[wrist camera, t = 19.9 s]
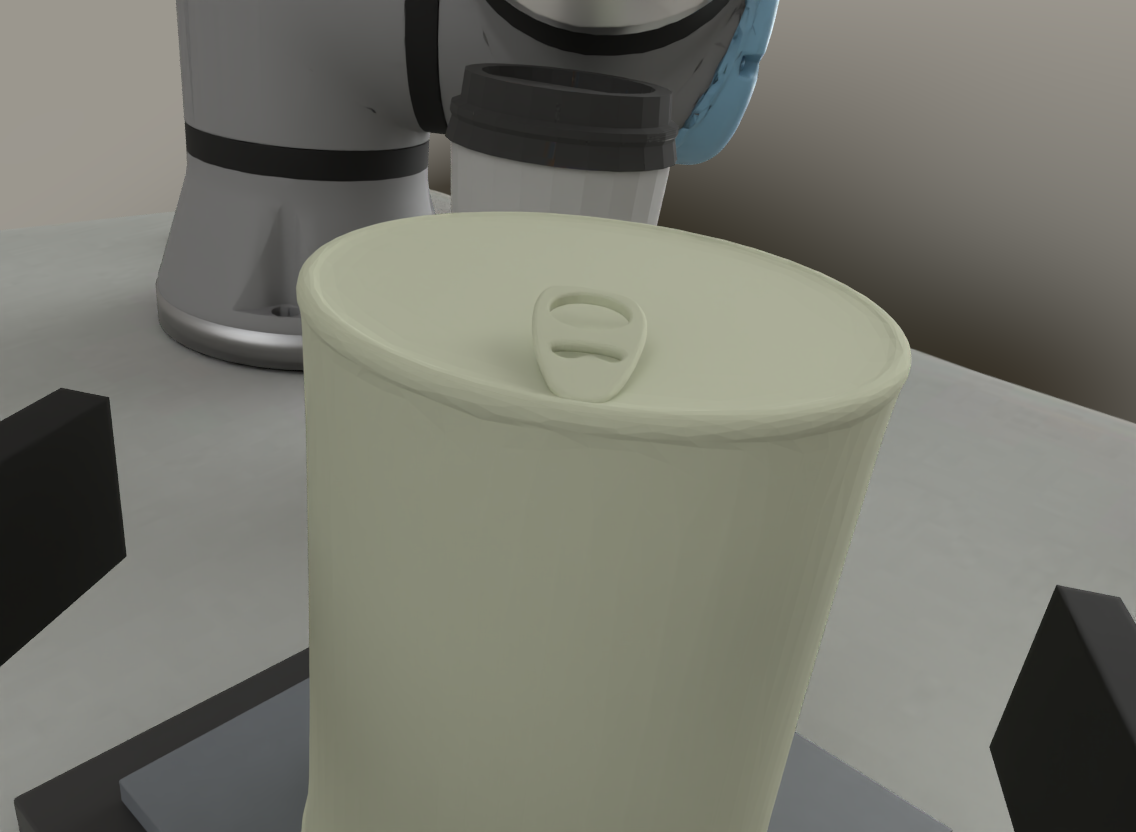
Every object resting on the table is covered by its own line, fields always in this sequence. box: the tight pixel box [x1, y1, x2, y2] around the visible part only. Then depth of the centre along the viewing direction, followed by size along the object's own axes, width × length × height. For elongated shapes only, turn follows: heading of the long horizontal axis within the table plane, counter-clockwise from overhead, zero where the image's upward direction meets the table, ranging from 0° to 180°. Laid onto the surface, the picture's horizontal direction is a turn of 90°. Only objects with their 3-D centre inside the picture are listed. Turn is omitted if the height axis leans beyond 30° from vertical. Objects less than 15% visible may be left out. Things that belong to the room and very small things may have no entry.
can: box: [296, 211, 911, 832], centre depth 17 cm, size 9×9×12 cm
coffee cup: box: [445, 63, 679, 226], centre depth 36 cm, size 8×8×15 cm
